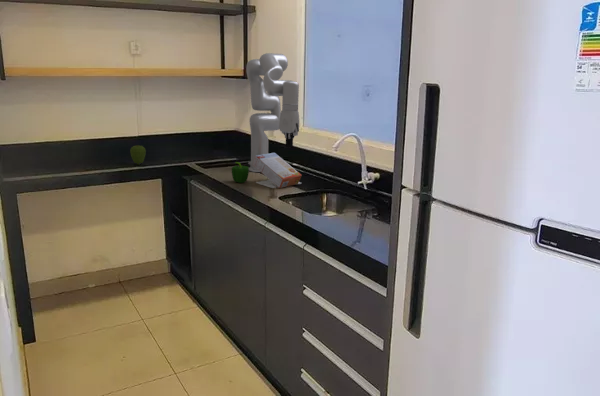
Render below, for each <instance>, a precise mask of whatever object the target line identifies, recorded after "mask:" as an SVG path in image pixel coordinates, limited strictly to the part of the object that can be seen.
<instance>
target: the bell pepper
mask: <svg viewBox="0 0 600 396" xmlns="http://www.w3.org/2000/svg"><path fill="white" fill-rule="evenodd" d="M249 173H250V171H249V166H246V165H242V164H241V162H239V161H235V165H234V166H232V167H231V176H232V179H233V182H236V183H240V184H242V183H246V182H247V180H248V178H249Z"/></svg>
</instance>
